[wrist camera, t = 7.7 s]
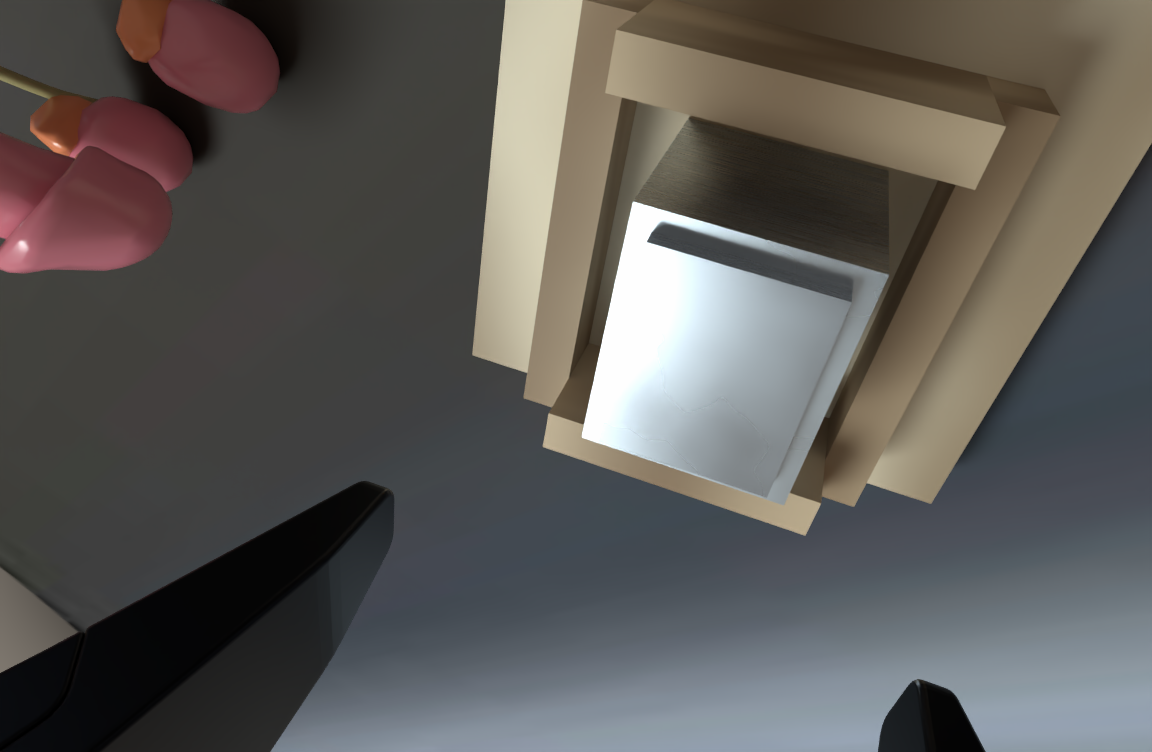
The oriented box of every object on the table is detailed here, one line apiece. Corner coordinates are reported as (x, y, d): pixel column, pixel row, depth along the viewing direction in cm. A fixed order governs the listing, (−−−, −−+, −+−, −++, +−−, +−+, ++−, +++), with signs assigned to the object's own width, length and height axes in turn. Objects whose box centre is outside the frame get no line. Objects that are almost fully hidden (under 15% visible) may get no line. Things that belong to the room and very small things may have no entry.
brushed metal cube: (889, 171, 15) (889, 287, 12) (803, 374, 18) (781, 520, 15) (688, 117, 16) (626, 211, 12) (637, 322, 19) (575, 450, 15)
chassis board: (1750, -922, 8) (2329, -1417, 5) (928, 471, 20) (937, 598, 17) (631, -971, 10) (507, -1357, 7) (490, 332, 22) (420, 421, 19)
